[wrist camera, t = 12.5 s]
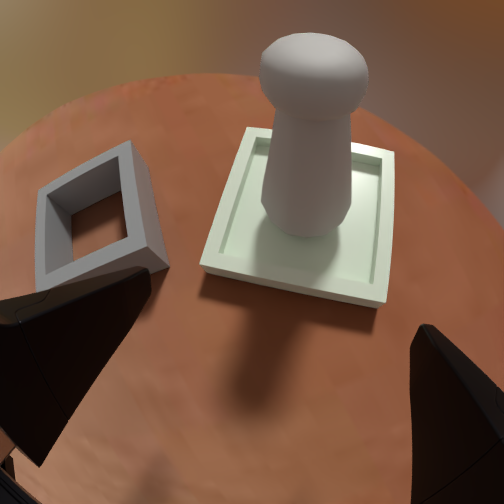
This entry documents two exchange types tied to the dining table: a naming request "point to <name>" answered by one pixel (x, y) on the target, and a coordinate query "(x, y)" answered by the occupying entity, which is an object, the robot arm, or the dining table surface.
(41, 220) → the holder
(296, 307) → the dining table surface
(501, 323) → the dining table surface
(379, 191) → the tray
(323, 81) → the salt shaker
